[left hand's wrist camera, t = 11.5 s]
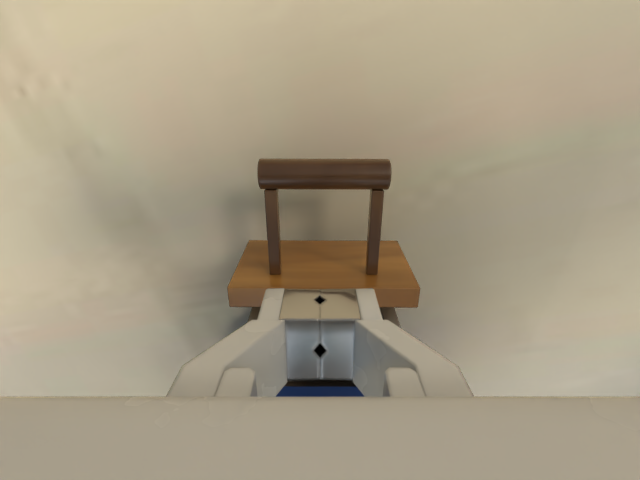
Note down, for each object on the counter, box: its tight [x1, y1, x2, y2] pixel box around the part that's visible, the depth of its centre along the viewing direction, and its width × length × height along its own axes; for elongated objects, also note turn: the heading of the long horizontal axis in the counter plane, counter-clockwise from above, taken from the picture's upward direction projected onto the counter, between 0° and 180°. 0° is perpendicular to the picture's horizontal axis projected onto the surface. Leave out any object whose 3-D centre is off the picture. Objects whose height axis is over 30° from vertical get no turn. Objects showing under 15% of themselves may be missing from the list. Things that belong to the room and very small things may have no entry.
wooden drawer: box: [227, 159, 420, 387], centre depth 22 cm, size 18×10×6 cm, turn 0°
